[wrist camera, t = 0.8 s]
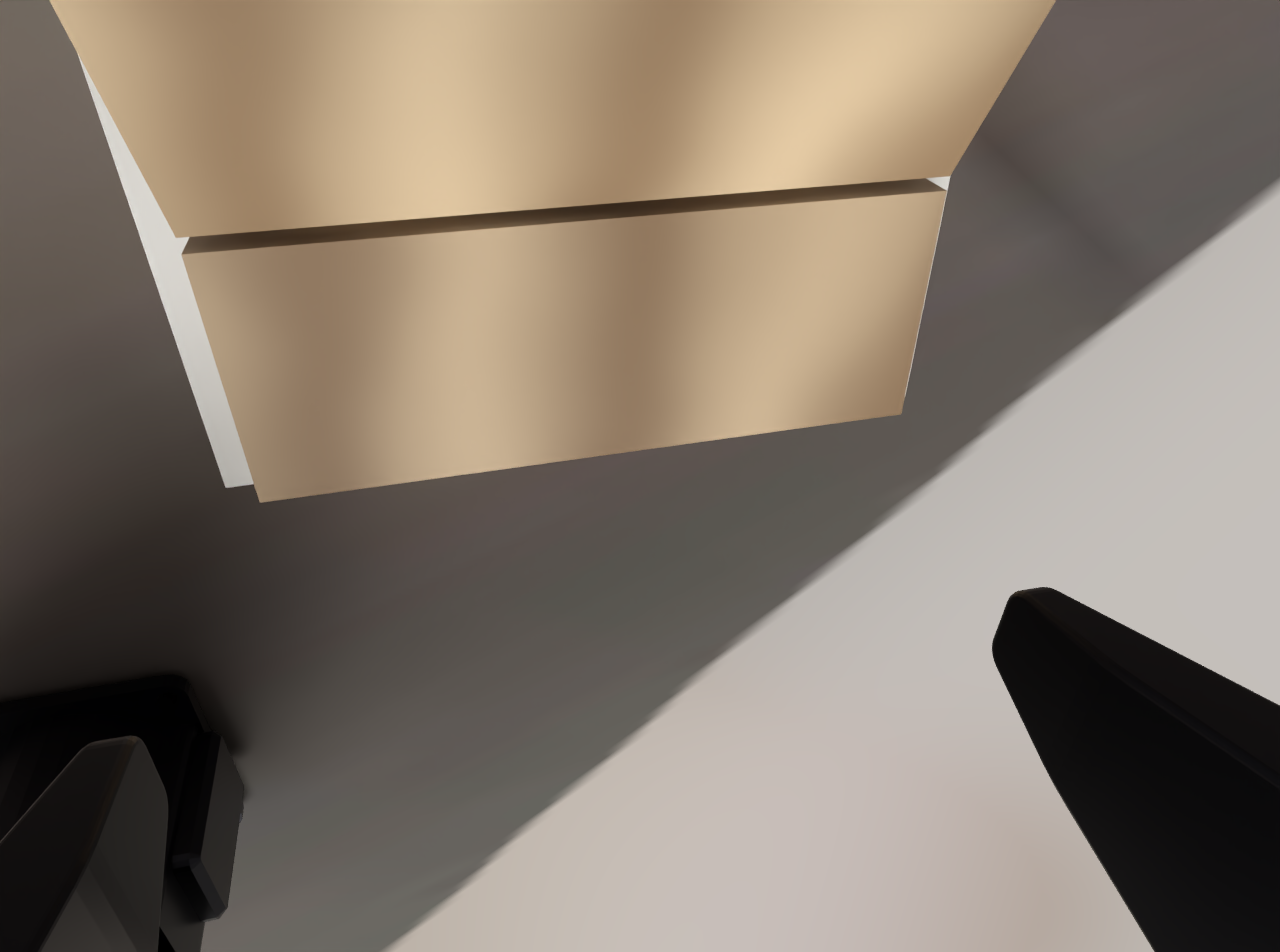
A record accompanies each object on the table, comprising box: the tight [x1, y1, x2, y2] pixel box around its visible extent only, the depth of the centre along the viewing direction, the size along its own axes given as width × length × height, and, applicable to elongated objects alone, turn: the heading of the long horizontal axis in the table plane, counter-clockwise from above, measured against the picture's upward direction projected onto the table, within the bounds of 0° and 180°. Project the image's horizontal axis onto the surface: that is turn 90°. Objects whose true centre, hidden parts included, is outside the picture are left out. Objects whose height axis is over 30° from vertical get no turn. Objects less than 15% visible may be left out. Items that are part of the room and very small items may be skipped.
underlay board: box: [78, 55, 950, 488], centre depth 18 cm, size 17×14×1 cm
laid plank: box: [181, 178, 947, 503], centre depth 19 cm, size 15×6×2 cm, turn 89°
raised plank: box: [50, 0, 1056, 238], centre depth 14 cm, size 15×6×2 cm, turn 89°
